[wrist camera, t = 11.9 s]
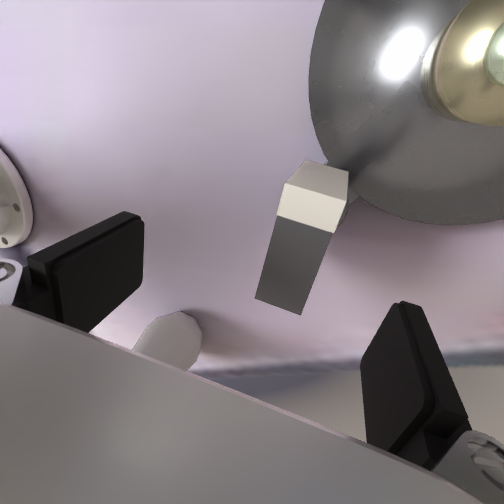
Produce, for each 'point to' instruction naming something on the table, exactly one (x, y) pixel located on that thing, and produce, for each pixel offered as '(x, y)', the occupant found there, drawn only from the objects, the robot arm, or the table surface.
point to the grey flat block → (302, 234)
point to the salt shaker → (172, 340)
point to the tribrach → (413, 105)
